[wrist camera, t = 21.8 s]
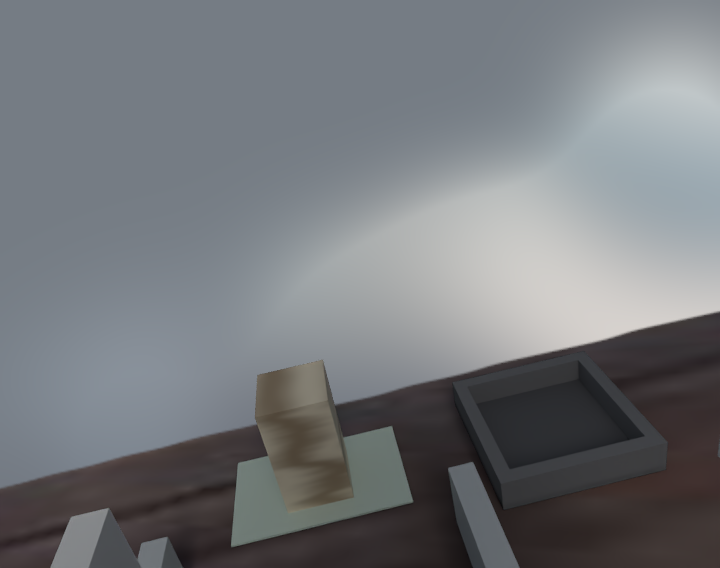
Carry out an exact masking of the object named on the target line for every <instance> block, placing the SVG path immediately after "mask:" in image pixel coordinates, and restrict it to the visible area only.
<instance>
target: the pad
mask: <svg viewBox="0 0 720 568" xmlns="http://www.w3.org/2000/svg"><path fill="white" fill-rule="evenodd" d="M343 439H344V443H345V446H346V450H347V456H348V462H349V469H350V475H351V482H352V488H353V495H354V497H353V498H349V499H345V500H341V501H337V502H333V503H329V504H325V505H320V506H316V507H312V508H308V509H304V510H300V511H296V512H291V513H288V511H287V509H286V506H285V503H284V500H283V497H282V494H281V491H280V488H279V486H278V483H277V480H276V477H275V474H274V471H273V468H272V465H271V462H270V460H269V457H268V456H266V457H262V458H257V459H253V460H249V461H245V462H241V463H238V471H237V482H236V494H235V506H234V518H233V529H232V541H231V547H235V546H239V545H243V544H247V543H251V542H255V541H259V540H264V539H268V538H272V537H276V536H280V535H284V534H288V533H292V532H296V531H300V530H304V529H308V528H312V527H316V526H320V525H324V524H328V523H332V522H336V521H340V520H345V519H349V518H353V517H357V516H361V515H365V514H369V513H373V512H377V511H381V510H385V509H389V508H393V507H397V506H401V505H405V504H409V503H413V499H412V496H411V492H410V489H409V485H408V482H407V478H406V475H405V471H404V467H403V464H402V460H401V457H400V453H399V450H398V446H397V443H396V439H395V435H394V432H393V428H392V426H390V427H386V428H382V429H378V430H373V431H369V432H365V433H361V434H357V435H353V436H349V437H344V438H343Z"/></svg>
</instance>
